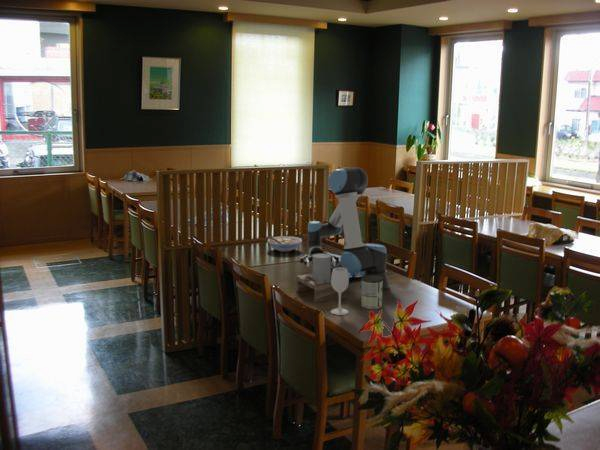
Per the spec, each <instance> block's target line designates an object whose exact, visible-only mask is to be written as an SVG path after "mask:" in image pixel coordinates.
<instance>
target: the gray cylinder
mask: <svg viewBox="0 0 600 450" xmlns="http://www.w3.org/2000/svg"><path fill="white" fill-rule="evenodd" d="M330 254H331V253H318V254H314V255H313V261H312V274H313V278H312V279H313V280H315V281H321V282H323V281H329V280H331V274H332V262H331V255H332V254H331V255H330Z"/></svg>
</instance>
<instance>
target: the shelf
mask: <svg viewBox="0 0 600 450" xmlns="http://www.w3.org/2000/svg"><path fill="white" fill-rule="evenodd" d="M310 276H313V273H307V274H299V275H296V276H295V277H296V279H295V280H296V285H295V286H296V288H295V289H296V291H297V293H298V292H303V291H305V292H306V291H312V290H314V291H313V293H314V295H313V296H314V303H322V302H326V301H333V300H339V294H338V292H337V291H335V290H334V289H333V287H332V284H331V282H329V283H321V284H317V283H315V282H313V281H311V280H310ZM331 277H332V273H331ZM348 288H349V286H348V287H347V289H346V290H345V291H343V292H342V293H341V299H346V298H348V295H349V294H348V293H349V292H348Z"/></svg>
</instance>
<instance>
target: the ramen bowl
mask: <svg viewBox="0 0 600 450" xmlns="http://www.w3.org/2000/svg"><path fill="white" fill-rule="evenodd" d="M266 238H268V239H267V242H268V244H269V245H270V247H271V248H272V249H273V250H276V251H278V252H281V253H289V252H291V251H293V250H296V249H297V248H298V247H299V246H300V244H301V243H302V241H303V240H302V238H300V237H298V236H297V237H296V236H284V235H283V236H274V237H273V236H271V235H267V236H266Z"/></svg>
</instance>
